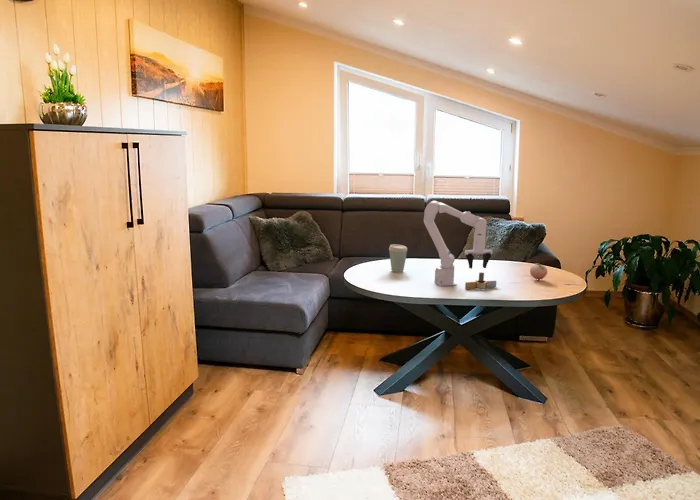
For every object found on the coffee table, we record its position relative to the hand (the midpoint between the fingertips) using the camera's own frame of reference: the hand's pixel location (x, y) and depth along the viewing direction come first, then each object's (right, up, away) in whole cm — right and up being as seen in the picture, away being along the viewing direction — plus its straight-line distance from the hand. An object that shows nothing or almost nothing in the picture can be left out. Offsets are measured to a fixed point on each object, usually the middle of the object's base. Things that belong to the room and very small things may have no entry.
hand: (477, 267), depth 284 cm
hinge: (+1, -10, -1) cm, 10 cm away
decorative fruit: (+36, -8, +16) cm, 40 cm away
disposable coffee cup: (-38, -3, +31) cm, 49 cm away
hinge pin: (+1, -10, -1) cm, 10 cm away
